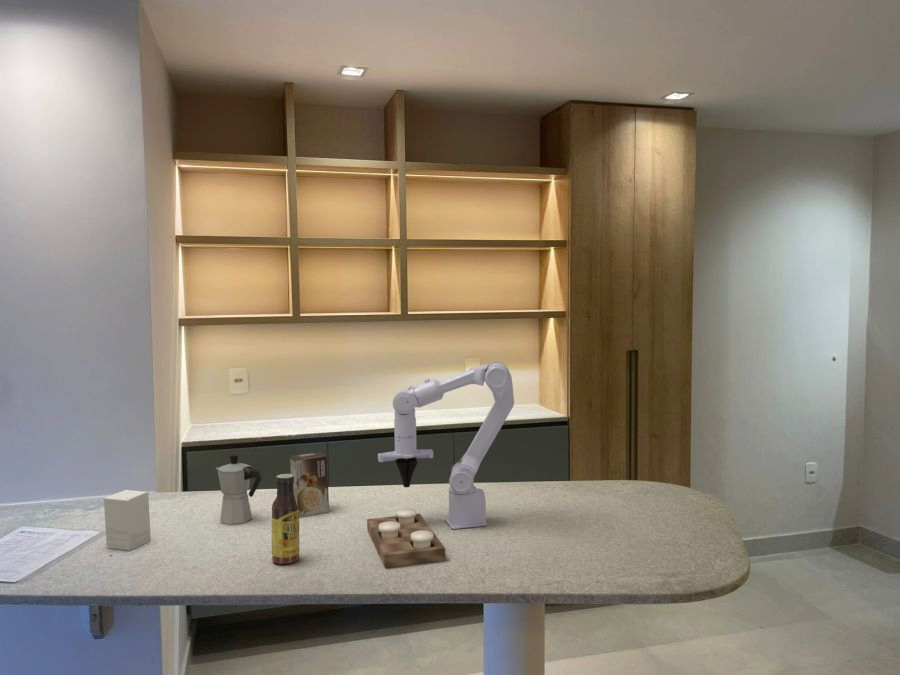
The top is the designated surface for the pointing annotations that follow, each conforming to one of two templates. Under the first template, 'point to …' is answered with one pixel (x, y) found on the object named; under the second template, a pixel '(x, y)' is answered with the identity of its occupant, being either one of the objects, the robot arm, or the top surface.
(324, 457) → the coffee box
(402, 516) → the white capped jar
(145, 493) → the supplement box
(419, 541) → the knob camera side
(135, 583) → the top surface
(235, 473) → the coffee maker
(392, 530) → the knob middle
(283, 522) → the sauce bottle
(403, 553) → the knob panel
